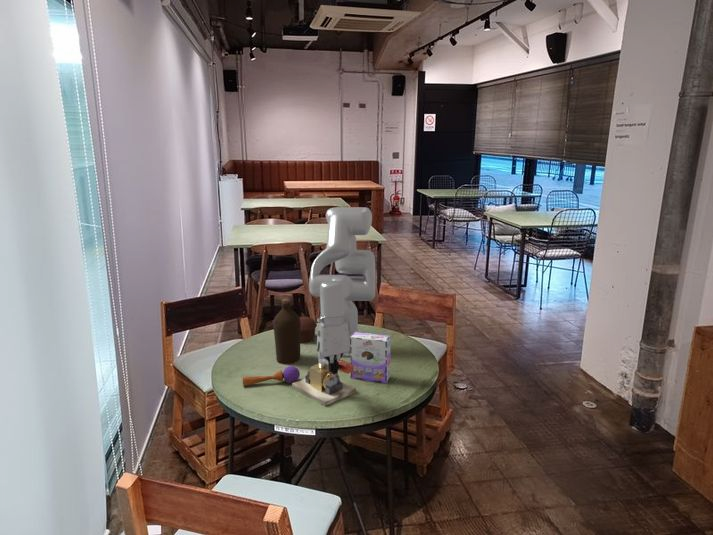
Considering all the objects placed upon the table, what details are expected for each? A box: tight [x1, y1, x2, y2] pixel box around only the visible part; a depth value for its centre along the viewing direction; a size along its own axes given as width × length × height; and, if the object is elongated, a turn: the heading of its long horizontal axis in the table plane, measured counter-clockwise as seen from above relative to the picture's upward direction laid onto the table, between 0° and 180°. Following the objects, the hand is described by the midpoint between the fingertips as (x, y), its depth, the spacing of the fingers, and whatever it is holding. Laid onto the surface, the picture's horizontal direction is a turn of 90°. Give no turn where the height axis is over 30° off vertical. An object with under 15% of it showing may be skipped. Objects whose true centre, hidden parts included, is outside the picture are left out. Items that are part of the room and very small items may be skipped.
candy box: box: [349, 331, 391, 384], centre depth 178 cm, size 14×6×16 cm, turn 71°
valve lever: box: [317, 357, 354, 375], centre depth 165 cm, size 14×3×4 cm, turn 48°
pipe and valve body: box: [304, 363, 343, 395], centre depth 170 cm, size 7×13×7 cm, turn 44°
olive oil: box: [272, 297, 301, 365], centre depth 192 cm, size 11×11×25 cm
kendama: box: [242, 365, 301, 387], centre depth 175 cm, size 6×6×20 cm
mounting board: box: [291, 377, 357, 407], centre depth 171 cm, size 14×18×2 cm
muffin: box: [299, 316, 318, 345], centre depth 214 cm, size 12×11×10 cm
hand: (333, 372), depth 161 cm, fingers closed
